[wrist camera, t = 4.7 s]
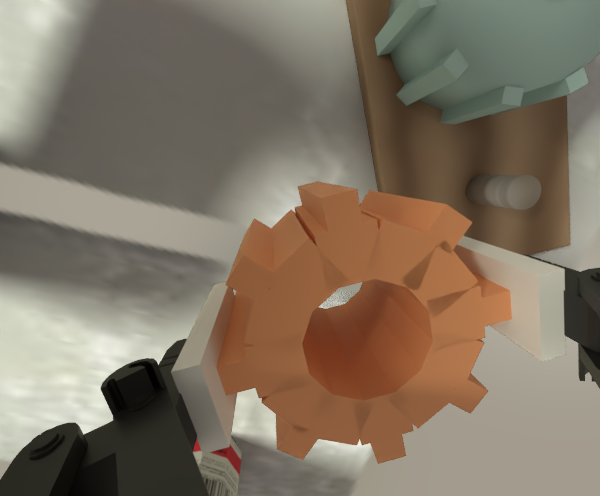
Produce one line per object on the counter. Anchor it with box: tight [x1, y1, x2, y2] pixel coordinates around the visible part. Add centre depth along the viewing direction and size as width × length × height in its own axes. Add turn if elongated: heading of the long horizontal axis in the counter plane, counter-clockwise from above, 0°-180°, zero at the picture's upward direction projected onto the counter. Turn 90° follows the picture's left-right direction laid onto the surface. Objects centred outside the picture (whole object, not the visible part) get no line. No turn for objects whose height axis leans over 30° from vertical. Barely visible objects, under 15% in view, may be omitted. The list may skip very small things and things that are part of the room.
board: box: [346, 0, 570, 255], centre depth 24 cm, size 16×27×7 cm, turn 13°
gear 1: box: [216, 182, 512, 464], centre depth 13 cm, size 9×9×7 cm
